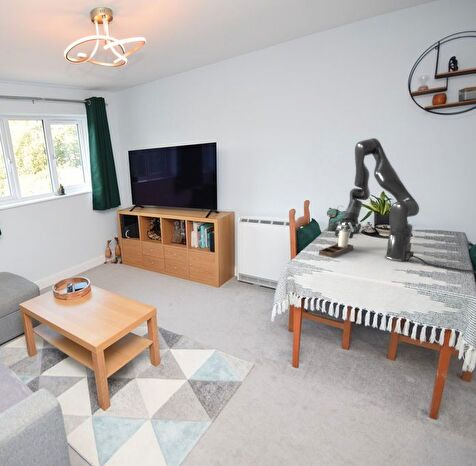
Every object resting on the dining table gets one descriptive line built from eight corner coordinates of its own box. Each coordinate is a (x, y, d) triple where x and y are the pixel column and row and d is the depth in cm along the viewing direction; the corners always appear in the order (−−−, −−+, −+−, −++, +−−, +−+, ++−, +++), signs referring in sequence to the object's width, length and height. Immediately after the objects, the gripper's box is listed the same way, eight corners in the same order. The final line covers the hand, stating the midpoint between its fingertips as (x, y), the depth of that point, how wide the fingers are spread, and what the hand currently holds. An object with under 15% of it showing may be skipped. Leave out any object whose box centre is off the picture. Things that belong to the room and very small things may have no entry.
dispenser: (349, 249, 195) (351, 224, 191) (344, 250, 193) (347, 226, 188) (340, 247, 199) (342, 223, 195) (336, 249, 197) (338, 225, 193)
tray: (353, 249, 194) (353, 245, 194) (332, 258, 184) (332, 253, 184) (339, 246, 201) (339, 242, 200) (318, 254, 191) (319, 250, 190)
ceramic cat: (324, 230, 237) (326, 205, 232) (328, 228, 241) (330, 203, 235) (355, 234, 221) (358, 207, 216) (358, 232, 225) (361, 205, 220)
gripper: (337, 210, 200) (328, 232, 196) (364, 212, 189) (355, 235, 185) (339, 217, 204) (331, 238, 201) (366, 219, 193) (357, 242, 189)
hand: (343, 236), depth 193 cm, fingers open, 7 cm apart
